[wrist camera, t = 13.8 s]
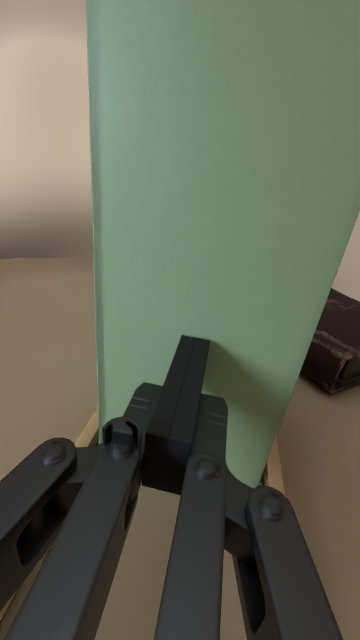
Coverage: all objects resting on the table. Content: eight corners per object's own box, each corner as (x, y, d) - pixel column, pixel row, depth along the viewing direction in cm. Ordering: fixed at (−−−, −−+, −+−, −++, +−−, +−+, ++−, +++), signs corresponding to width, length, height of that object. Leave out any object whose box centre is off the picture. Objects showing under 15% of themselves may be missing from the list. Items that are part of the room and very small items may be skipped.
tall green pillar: (98, 451, 21) (77, -232, 8) (142, 365, 30) (164, -11, 17) (256, 489, 19) (530, -249, 7) (250, 387, 29) (361, -1, 16)
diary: (325, 398, 29) (343, 357, 27) (199, 299, 48) (203, 270, 46) (420, 362, 37) (440, 329, 35) (280, 290, 57) (288, 265, 54)
